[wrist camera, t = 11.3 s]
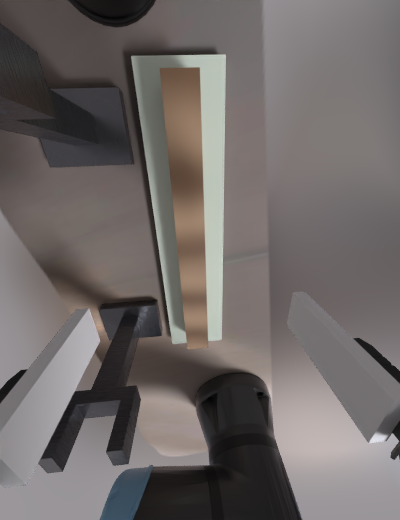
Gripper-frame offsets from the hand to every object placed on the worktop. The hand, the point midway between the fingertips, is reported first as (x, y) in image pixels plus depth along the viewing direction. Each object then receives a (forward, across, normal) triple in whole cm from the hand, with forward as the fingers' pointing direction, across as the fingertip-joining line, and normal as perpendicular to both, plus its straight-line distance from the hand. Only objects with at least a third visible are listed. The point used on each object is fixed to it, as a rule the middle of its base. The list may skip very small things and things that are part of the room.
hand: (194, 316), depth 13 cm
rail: (+12, 0, -1) cm, 12 cm away
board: (+14, 0, -1) cm, 14 cm away
